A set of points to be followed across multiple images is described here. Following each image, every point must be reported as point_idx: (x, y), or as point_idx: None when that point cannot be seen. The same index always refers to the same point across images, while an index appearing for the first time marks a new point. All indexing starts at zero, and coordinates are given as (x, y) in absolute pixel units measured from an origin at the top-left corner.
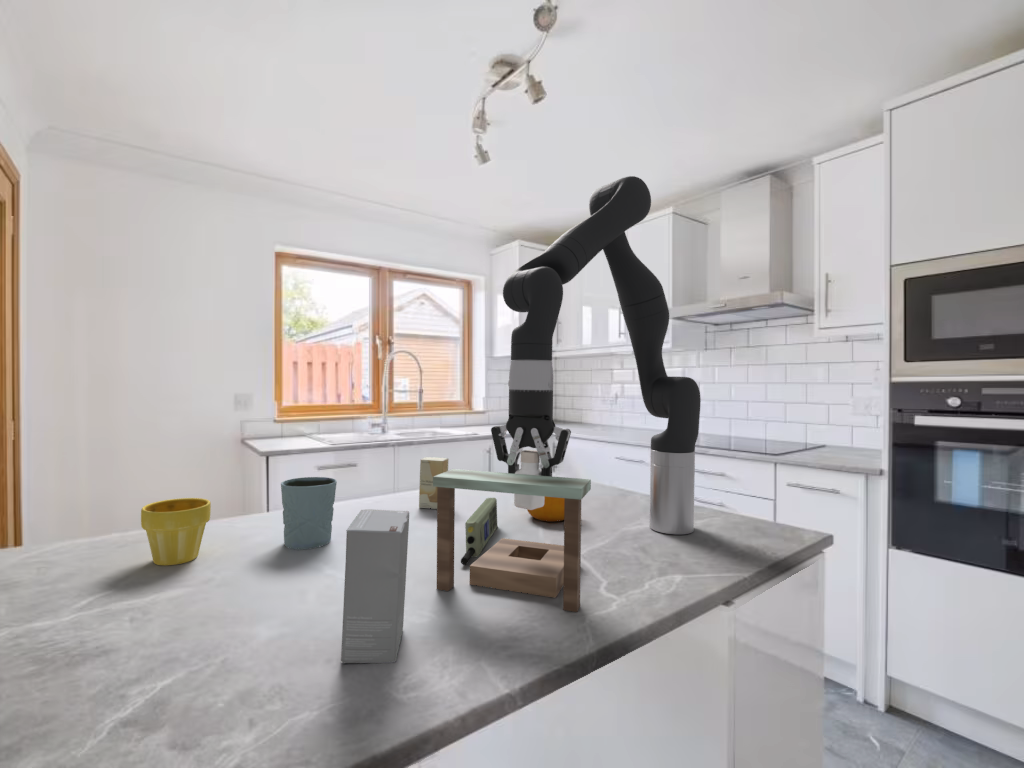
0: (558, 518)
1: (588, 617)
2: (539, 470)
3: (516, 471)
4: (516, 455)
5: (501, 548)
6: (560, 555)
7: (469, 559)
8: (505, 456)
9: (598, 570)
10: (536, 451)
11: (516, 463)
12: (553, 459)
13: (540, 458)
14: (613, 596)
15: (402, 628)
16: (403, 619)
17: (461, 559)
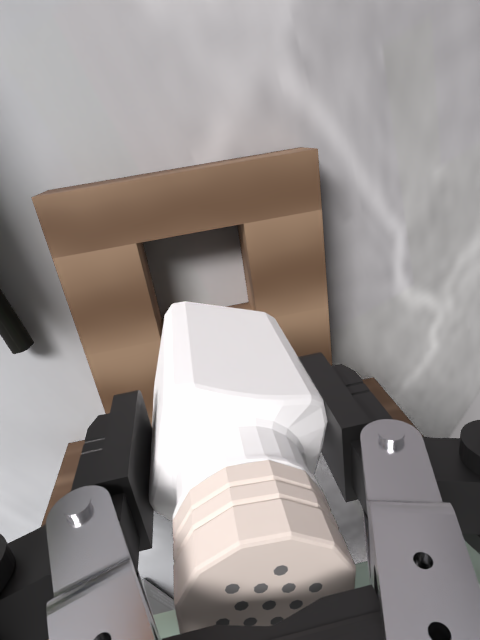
0: None
1: (396, 404)
2: (309, 458)
3: (159, 508)
4: (156, 626)
5: (103, 296)
6: (295, 255)
7: (22, 325)
8: (46, 628)
9: (371, 163)
10: (323, 575)
11: (129, 521)
12: (470, 544)
13: (368, 568)
14: (428, 301)
15: (158, 595)
16: (149, 596)
17: (14, 353)
